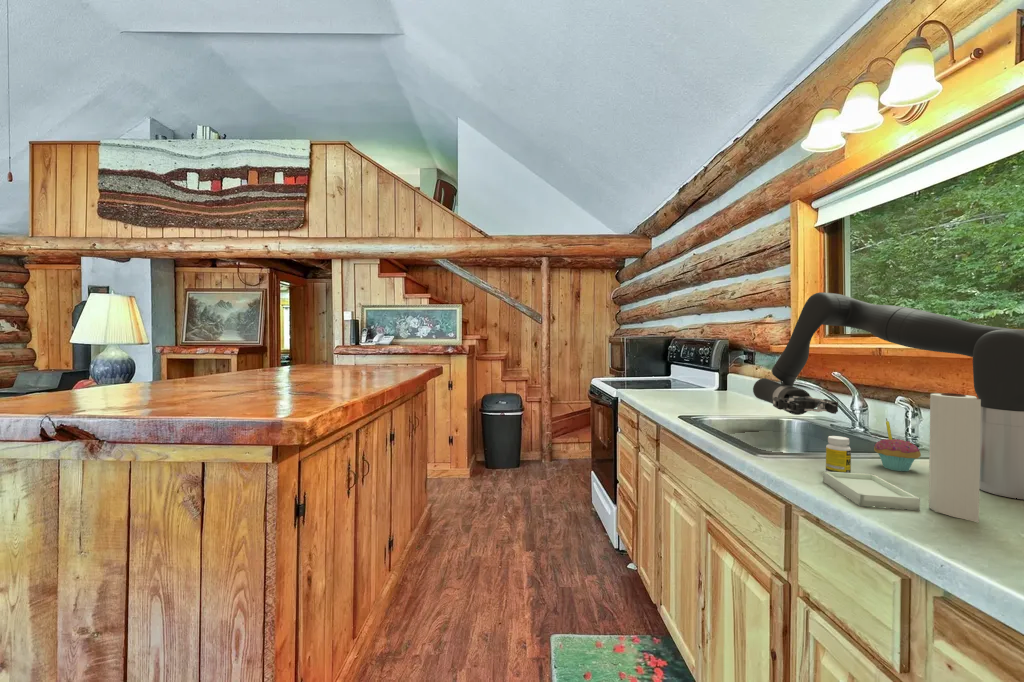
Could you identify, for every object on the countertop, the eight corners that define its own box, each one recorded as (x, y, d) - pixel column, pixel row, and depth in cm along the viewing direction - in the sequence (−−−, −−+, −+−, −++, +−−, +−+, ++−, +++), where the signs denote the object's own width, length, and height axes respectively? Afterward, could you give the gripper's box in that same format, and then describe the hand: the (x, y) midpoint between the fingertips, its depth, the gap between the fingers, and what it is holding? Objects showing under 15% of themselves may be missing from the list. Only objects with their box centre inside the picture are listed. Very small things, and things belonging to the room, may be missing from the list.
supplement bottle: (850, 478, 102) (851, 440, 102) (825, 474, 105) (825, 437, 105) (850, 473, 106) (851, 437, 106) (826, 469, 109) (826, 434, 109)
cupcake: (878, 470, 108) (878, 420, 108) (870, 461, 116) (870, 414, 115) (925, 475, 104) (926, 423, 104) (913, 466, 112) (914, 417, 111)
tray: (873, 484, 98) (873, 474, 98) (919, 510, 83) (919, 498, 83) (822, 481, 100) (823, 471, 100) (859, 506, 85) (860, 494, 85)
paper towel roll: (927, 503, 87) (929, 391, 86) (972, 511, 83) (974, 394, 83) (930, 515, 81) (932, 395, 81) (978, 524, 77) (980, 398, 77)
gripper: (764, 385, 133) (785, 393, 118) (819, 387, 131) (848, 395, 115) (764, 411, 134) (785, 422, 118) (818, 413, 131) (847, 425, 115)
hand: (816, 408), depth 116 cm, fingers open, 8 cm apart
